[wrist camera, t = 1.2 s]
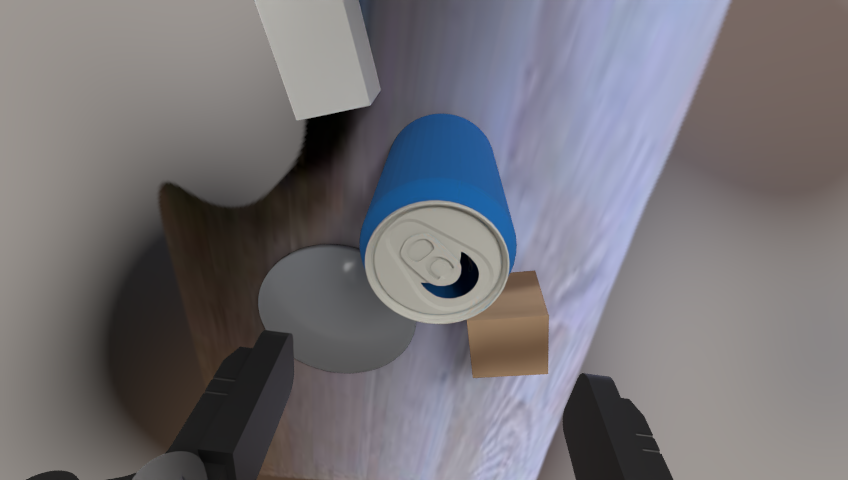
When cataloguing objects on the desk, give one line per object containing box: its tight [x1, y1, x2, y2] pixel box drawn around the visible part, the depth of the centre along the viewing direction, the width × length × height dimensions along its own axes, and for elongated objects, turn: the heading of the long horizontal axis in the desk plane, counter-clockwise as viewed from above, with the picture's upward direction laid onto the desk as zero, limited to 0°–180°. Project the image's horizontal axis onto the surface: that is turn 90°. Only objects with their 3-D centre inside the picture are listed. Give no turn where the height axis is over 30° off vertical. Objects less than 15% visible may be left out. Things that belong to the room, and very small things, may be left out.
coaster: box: [258, 244, 416, 373], centre depth 33 cm, size 12×12×1 cm
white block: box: [254, 0, 381, 121], centre depth 23 cm, size 6×4×4 cm, turn 12°
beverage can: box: [360, 114, 517, 324], centre depth 22 cm, size 6×6×12 cm
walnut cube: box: [467, 271, 549, 378], centre depth 30 cm, size 5×5×5 cm
